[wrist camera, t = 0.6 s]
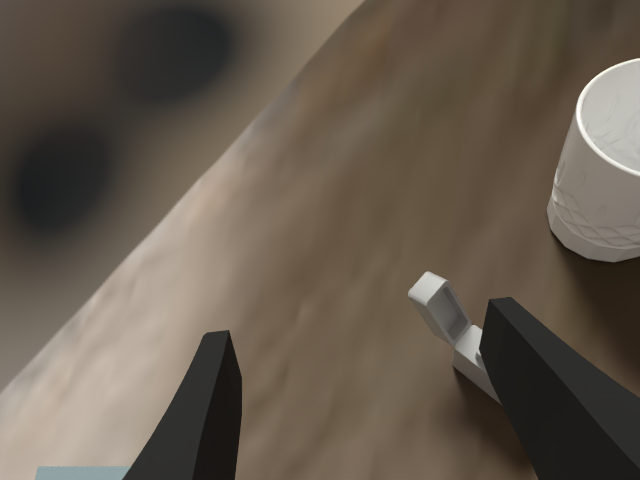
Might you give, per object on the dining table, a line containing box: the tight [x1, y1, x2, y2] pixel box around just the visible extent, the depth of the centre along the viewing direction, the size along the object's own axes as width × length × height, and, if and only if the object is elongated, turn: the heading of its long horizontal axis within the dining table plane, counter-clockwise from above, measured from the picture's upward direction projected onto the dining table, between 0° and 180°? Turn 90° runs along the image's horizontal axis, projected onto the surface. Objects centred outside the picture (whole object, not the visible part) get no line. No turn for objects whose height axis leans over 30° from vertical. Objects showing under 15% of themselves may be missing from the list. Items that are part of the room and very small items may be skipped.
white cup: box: [547, 58, 640, 262], centre depth 26 cm, size 8×8×10 cm
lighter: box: [408, 272, 502, 405], centre depth 24 cm, size 7×2×8 cm, turn 46°
